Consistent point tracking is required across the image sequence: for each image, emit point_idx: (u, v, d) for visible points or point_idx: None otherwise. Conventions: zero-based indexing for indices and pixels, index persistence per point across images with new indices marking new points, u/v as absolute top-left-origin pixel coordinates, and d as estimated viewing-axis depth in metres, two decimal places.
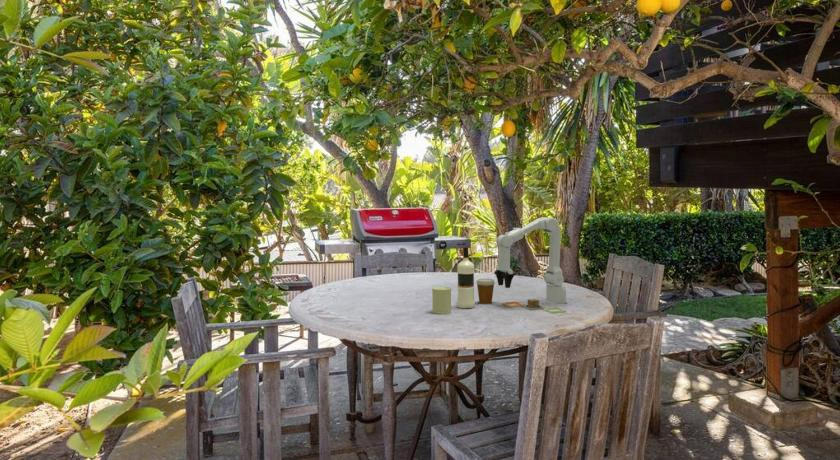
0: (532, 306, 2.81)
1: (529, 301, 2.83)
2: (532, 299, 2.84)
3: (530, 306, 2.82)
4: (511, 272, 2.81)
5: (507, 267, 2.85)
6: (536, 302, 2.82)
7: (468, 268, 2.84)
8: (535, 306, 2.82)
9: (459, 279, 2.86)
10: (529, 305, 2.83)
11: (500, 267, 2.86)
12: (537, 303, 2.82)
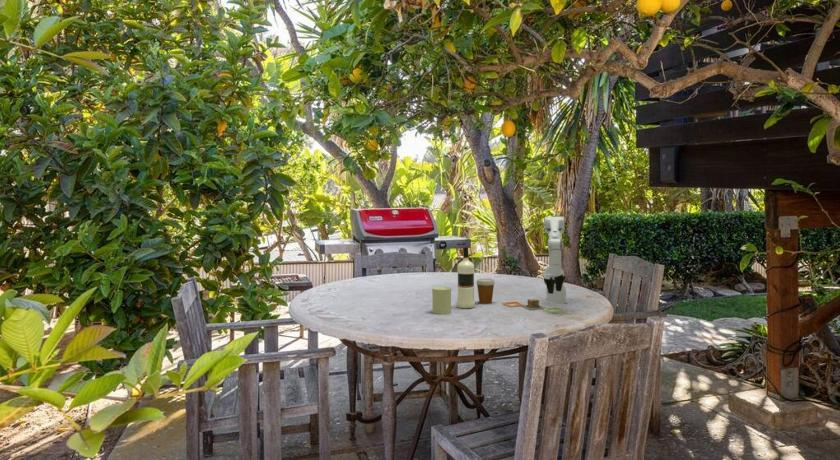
0: (532, 306, 2.81)
1: (529, 301, 2.83)
2: (532, 299, 2.84)
3: (530, 306, 2.82)
4: (547, 277, 2.70)
5: (552, 272, 2.73)
6: (536, 302, 2.82)
7: (468, 268, 2.84)
8: (535, 306, 2.82)
9: (459, 279, 2.86)
10: (529, 305, 2.83)
11: (548, 271, 2.76)
12: (537, 303, 2.82)
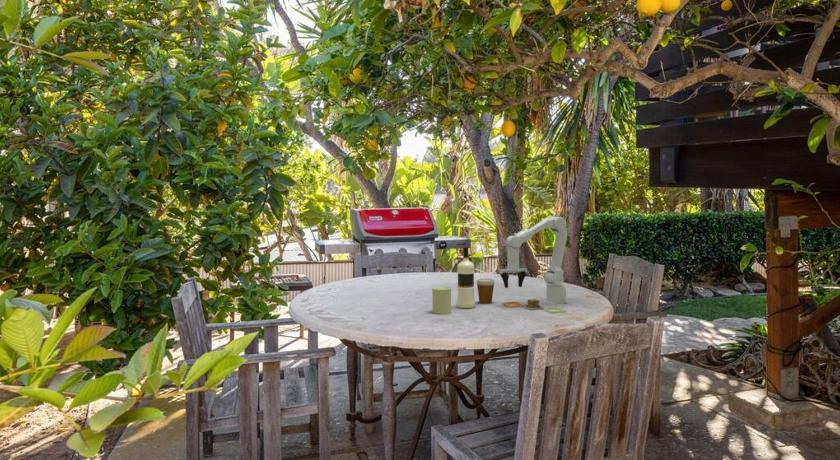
0: (532, 306, 2.81)
1: (529, 301, 2.83)
2: (532, 299, 2.84)
3: (530, 306, 2.82)
4: (500, 272, 2.87)
5: (508, 268, 2.88)
6: (536, 302, 2.82)
7: (468, 268, 2.84)
8: (535, 306, 2.82)
9: (459, 279, 2.86)
10: (529, 305, 2.83)
11: None
12: (537, 303, 2.82)
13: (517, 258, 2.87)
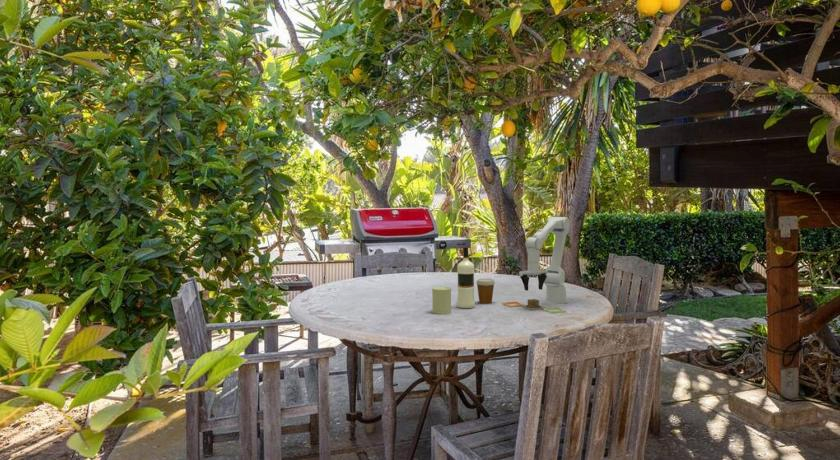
0: (532, 306, 2.81)
1: (529, 301, 2.83)
2: (532, 299, 2.84)
3: (530, 306, 2.82)
4: (520, 274, 2.80)
5: (528, 270, 2.81)
6: (536, 302, 2.82)
7: (468, 268, 2.84)
8: (535, 306, 2.82)
9: (459, 279, 2.86)
10: (529, 305, 2.83)
11: None
12: (537, 303, 2.82)
13: (539, 260, 2.81)
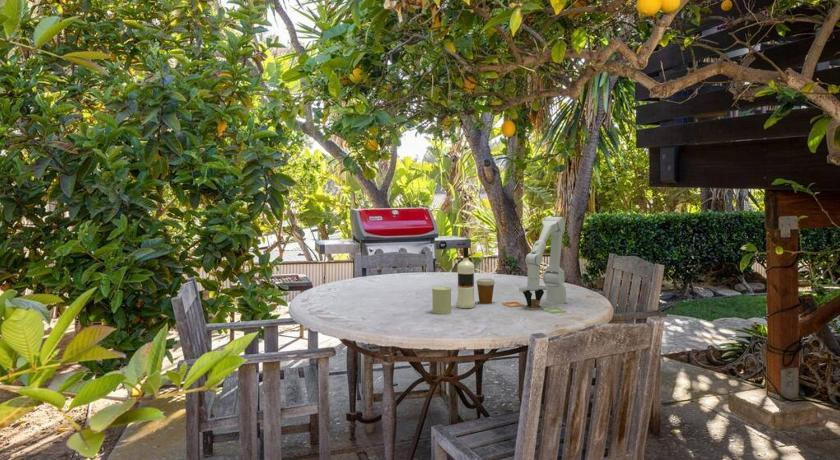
0: (532, 306, 2.81)
1: None
2: (532, 299, 2.84)
3: (530, 306, 2.82)
4: (520, 290, 2.80)
5: (528, 286, 2.82)
6: (536, 302, 2.82)
7: (468, 268, 2.84)
8: (535, 306, 2.82)
9: (459, 279, 2.86)
10: None
11: None
12: (537, 303, 2.82)
13: (539, 275, 2.81)
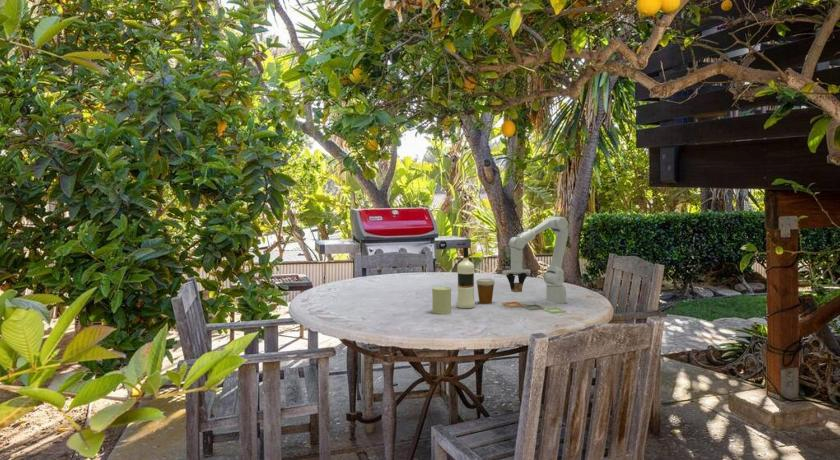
0: (515, 289, 2.86)
1: None
2: (515, 283, 2.89)
3: (513, 289, 2.87)
4: (503, 273, 2.86)
5: (511, 269, 2.87)
6: (519, 285, 2.87)
7: (468, 268, 2.84)
8: (518, 289, 2.87)
9: (459, 279, 2.86)
10: None
11: None
12: (520, 286, 2.87)
13: (521, 259, 2.86)
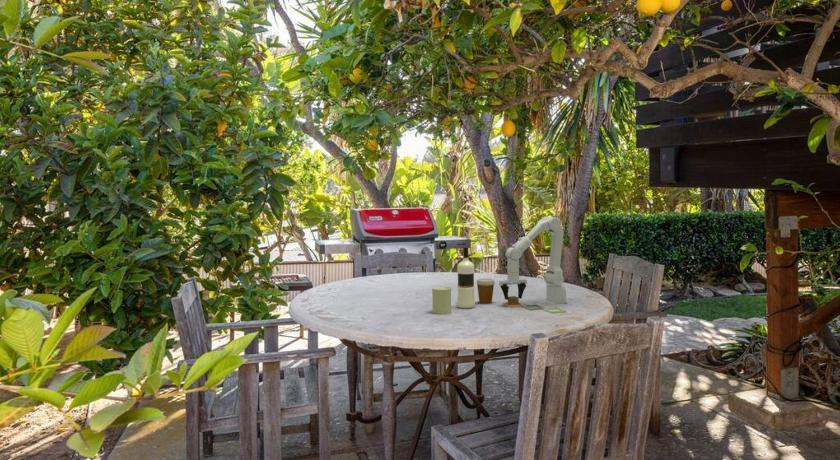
0: (512, 303, 2.88)
1: (509, 298, 2.90)
2: (512, 296, 2.91)
3: (510, 303, 2.89)
4: (500, 283, 2.87)
5: (508, 279, 2.89)
6: (516, 299, 2.89)
7: (468, 268, 2.84)
8: (515, 303, 2.89)
9: (459, 279, 2.86)
10: (509, 302, 2.90)
11: None
12: (517, 300, 2.89)
13: (517, 270, 2.87)
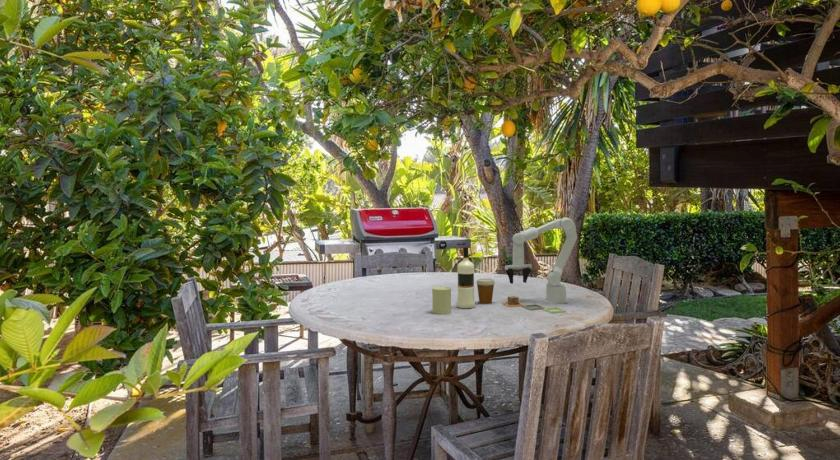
0: (512, 303, 2.88)
1: (509, 298, 2.90)
2: (512, 296, 2.91)
3: (510, 303, 2.89)
4: (505, 268, 2.97)
5: (513, 264, 2.98)
6: (516, 299, 2.89)
7: (468, 268, 2.84)
8: (515, 303, 2.89)
9: (459, 279, 2.86)
10: (509, 302, 2.90)
11: None
12: (517, 300, 2.89)
13: (520, 255, 2.96)
